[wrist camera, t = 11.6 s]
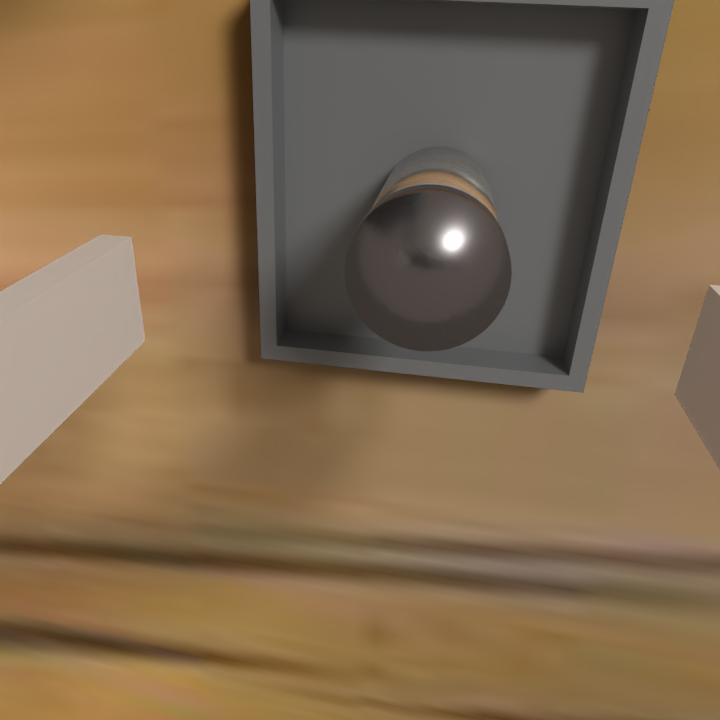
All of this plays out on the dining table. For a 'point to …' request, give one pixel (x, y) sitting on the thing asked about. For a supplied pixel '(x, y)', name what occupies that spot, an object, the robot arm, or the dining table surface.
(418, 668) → the dining table surface
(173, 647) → the dining table surface
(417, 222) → the shaker
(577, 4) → the tray
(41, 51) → the dining table surface
